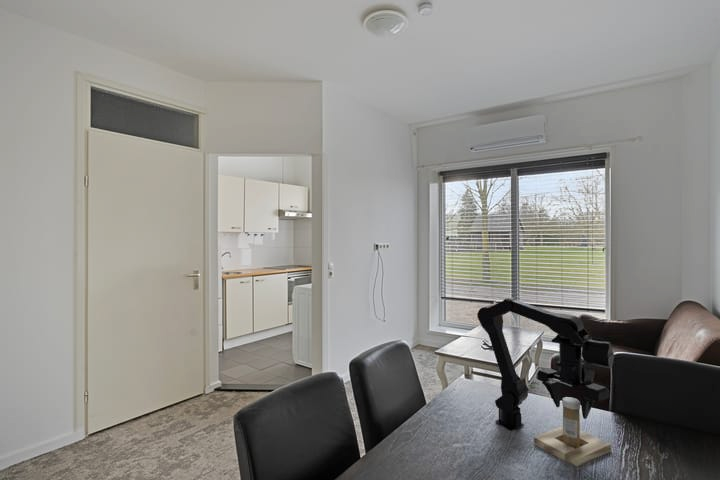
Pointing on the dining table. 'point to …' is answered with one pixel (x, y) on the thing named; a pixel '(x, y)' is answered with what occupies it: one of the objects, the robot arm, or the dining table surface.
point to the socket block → (576, 457)
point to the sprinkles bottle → (571, 422)
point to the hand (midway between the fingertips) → (571, 412)
